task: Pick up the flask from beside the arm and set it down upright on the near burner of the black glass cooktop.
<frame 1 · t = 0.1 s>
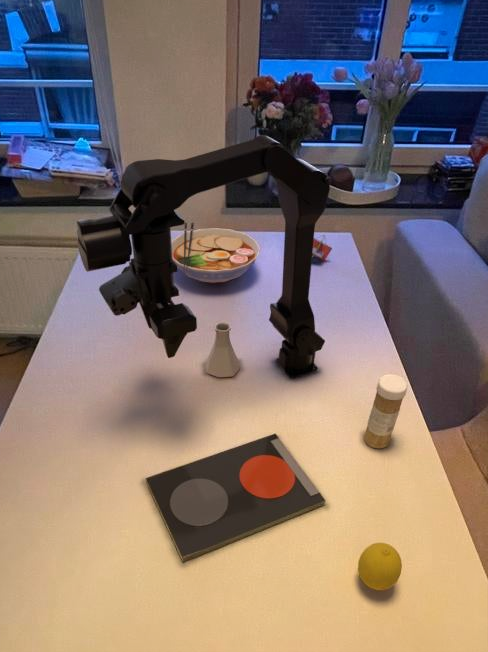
hand: (161, 341, 89), 15 cm above the table, tool pointing down, fingers open, 9 cm apart
lemon: (373, 582, 73), on the table
flask: (222, 368, 107), on the table
sprinkles bottle: (375, 441, 93), on the table
ramen bowl: (214, 275, 134), on the table
cooktop: (233, 493, 84), on the table
geometric puzzle: (315, 260, 141), on the table
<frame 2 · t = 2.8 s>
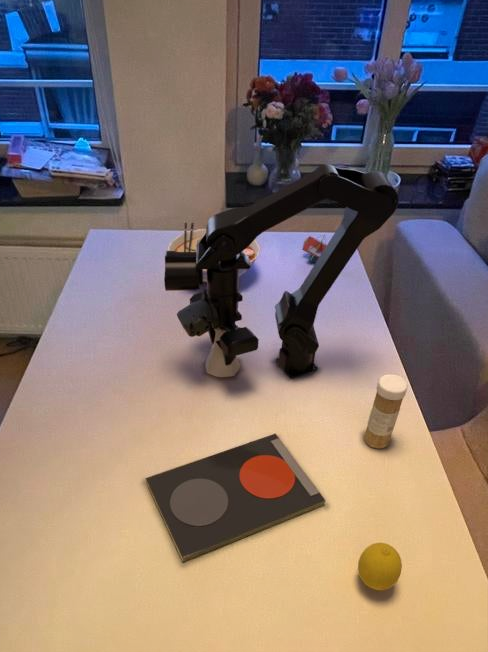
hand: (222, 357, 105), 3 cm above the table, tool pointing down, fingers closed on flask, 5 cm apart
flask: (222, 368, 107), on the table, touching gripper
everything else where it was.
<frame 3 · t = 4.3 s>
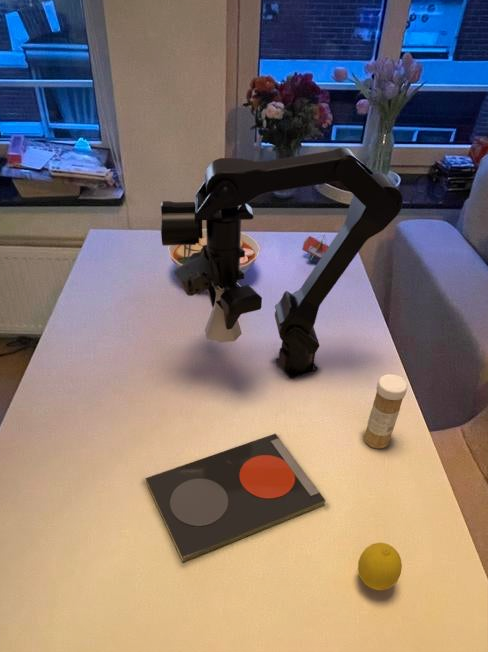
hand: (223, 321, 99), 11 cm above the table, tool pointing down, fingers closed on flask, 5 cm apart
flask: (223, 333, 101), point 9 cm above the table, touching gripper
everything else where it was.
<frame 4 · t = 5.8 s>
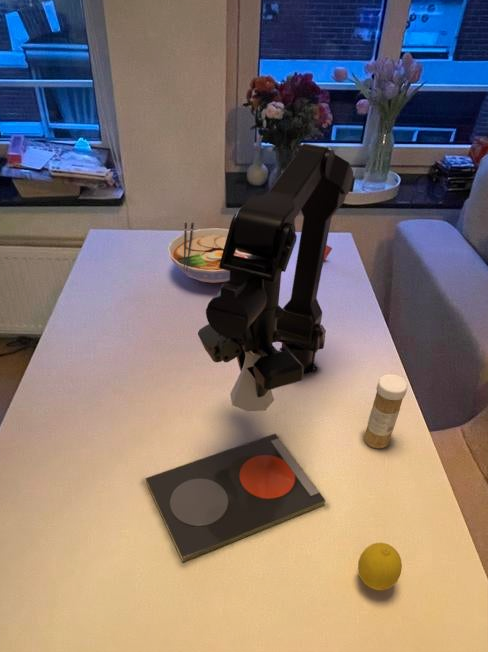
hand: (252, 385, 84), 13 cm above the table, tool pointing down, fingers closed on flask, 5 cm apart
flask: (251, 399, 86), point 10 cm above the table, touching gripper
everything else where it was.
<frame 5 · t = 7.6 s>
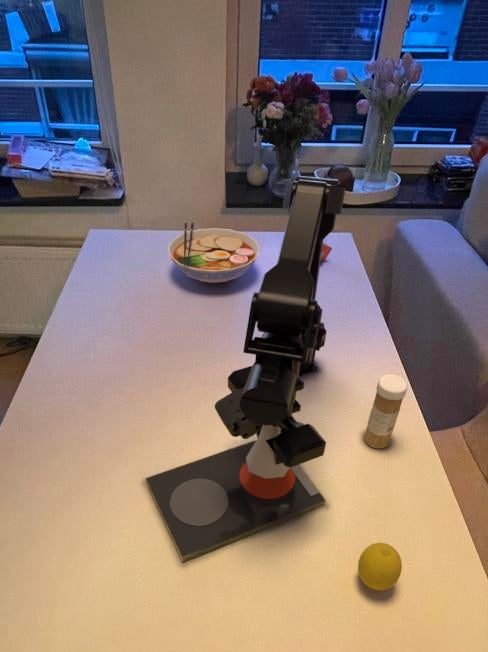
hand: (269, 450, 81), 7 cm above the table, tool pointing down, fingers closed on flask, 5 cm apart
flask: (268, 463, 83), point 4 cm above the table, touching gripper
everything else where it was.
when the fingers open (4 cm above the table, at t = 8.9 s): flask stays where it is, resting on cooktop.
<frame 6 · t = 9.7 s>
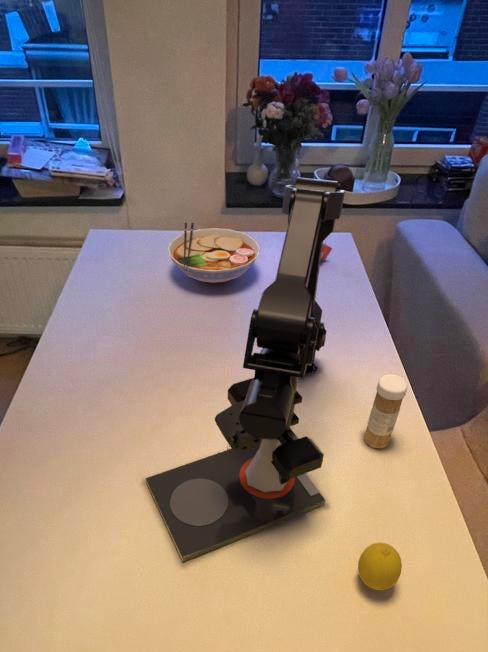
hand: (268, 461, 83), 5 cm above the table, tool pointing down, fingers open, 9 cm apart
flask: (267, 476, 85), point 1 cm above the table, touching cooktop
everything else where it was.
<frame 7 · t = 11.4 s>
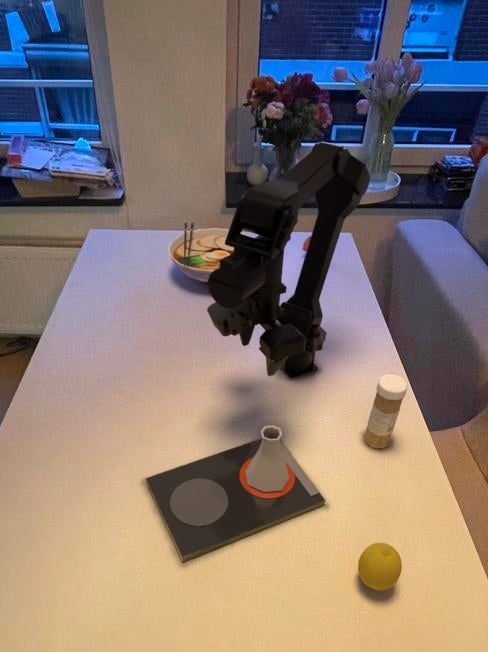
hand: (257, 359, 90), 12 cm above the table, tool pointing down, fingers open, 9 cm apart
nothing on the table moved.
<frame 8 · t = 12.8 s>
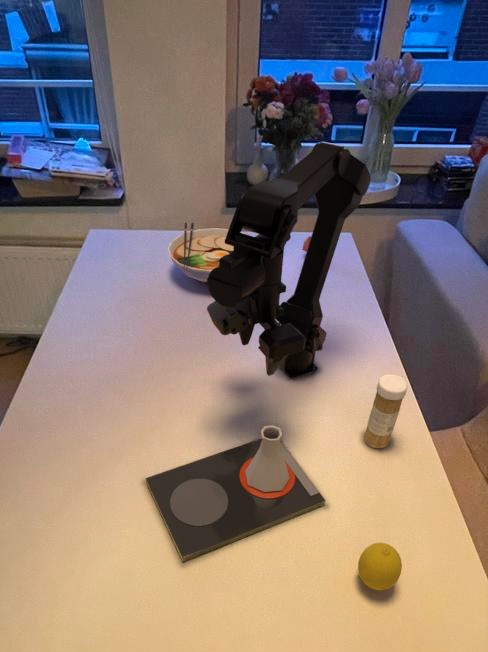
hand: (257, 359, 90), 12 cm above the table, tool pointing down, fingers open, 9 cm apart
nothing on the table moved.
at the end: flask 0.0 cm from the target spot on the cooktop, point 1.2 cm above the cooktop's base; flask tilted 0°; the gripper is holding nothing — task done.
